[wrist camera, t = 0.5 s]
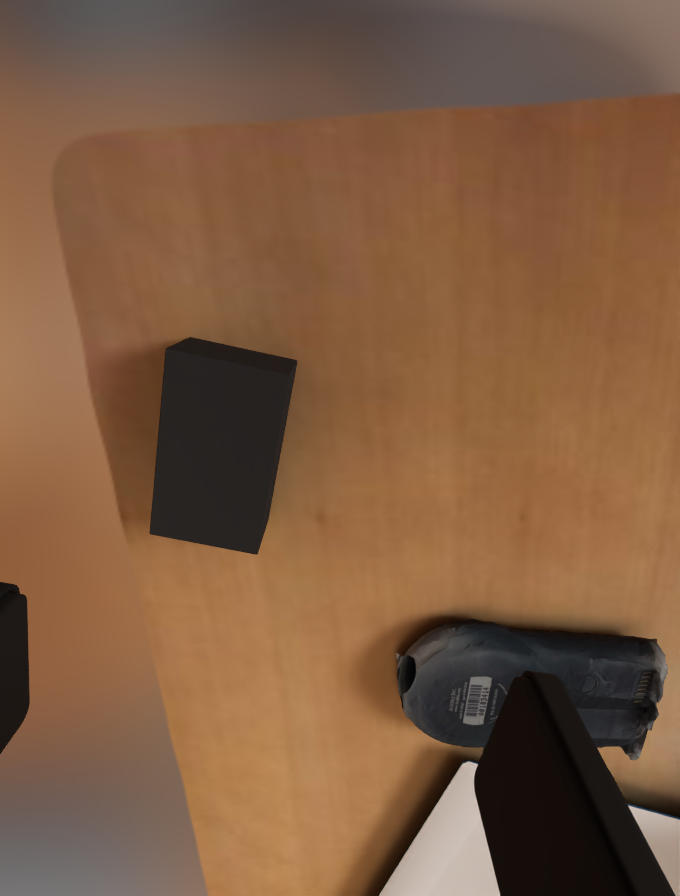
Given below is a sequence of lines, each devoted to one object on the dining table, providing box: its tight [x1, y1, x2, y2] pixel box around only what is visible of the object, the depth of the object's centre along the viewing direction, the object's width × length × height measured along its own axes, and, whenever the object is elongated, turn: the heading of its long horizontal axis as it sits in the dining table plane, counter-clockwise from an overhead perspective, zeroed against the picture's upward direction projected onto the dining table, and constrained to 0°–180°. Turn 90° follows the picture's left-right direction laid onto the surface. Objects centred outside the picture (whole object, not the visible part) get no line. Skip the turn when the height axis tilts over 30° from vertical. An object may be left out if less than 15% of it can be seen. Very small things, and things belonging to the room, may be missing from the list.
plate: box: [379, 760, 680, 896], centre depth 38 cm, size 22×22×2 cm
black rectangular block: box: [150, 337, 297, 554], centre depth 25 cm, size 10×6×4 cm, turn 168°
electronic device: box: [396, 619, 668, 760], centre depth 30 cm, size 9×6×15 cm
